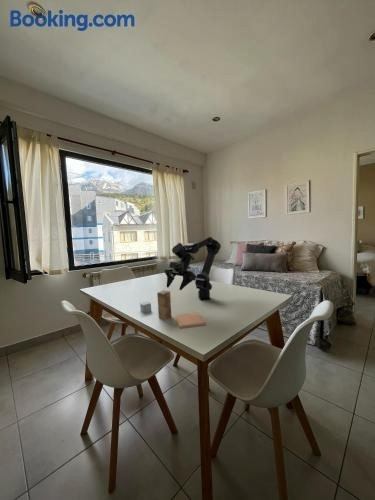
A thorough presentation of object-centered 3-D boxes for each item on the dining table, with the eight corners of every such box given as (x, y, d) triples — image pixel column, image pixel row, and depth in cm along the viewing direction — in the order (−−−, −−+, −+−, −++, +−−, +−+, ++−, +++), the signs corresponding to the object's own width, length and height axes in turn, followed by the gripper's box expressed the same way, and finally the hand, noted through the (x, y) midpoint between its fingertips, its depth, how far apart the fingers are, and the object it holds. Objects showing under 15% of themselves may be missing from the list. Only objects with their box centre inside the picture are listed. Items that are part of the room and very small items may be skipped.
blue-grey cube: (148, 308, 116) (147, 301, 115) (151, 311, 112) (150, 303, 111) (140, 310, 113) (140, 302, 113) (143, 313, 109) (142, 305, 109)
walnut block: (165, 314, 106) (163, 290, 105) (171, 316, 103) (170, 291, 102) (158, 317, 103) (157, 292, 102) (165, 319, 100) (163, 293, 99)
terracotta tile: (198, 314, 105) (198, 312, 105) (205, 324, 93) (205, 322, 93) (175, 317, 103) (175, 315, 102) (179, 327, 91) (179, 325, 91)
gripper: (164, 254, 114) (152, 279, 108) (190, 256, 102) (178, 284, 96) (175, 264, 121) (164, 288, 115) (200, 267, 110) (190, 293, 103)
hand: (173, 288), depth 107 cm, fingers open, 9 cm apart
